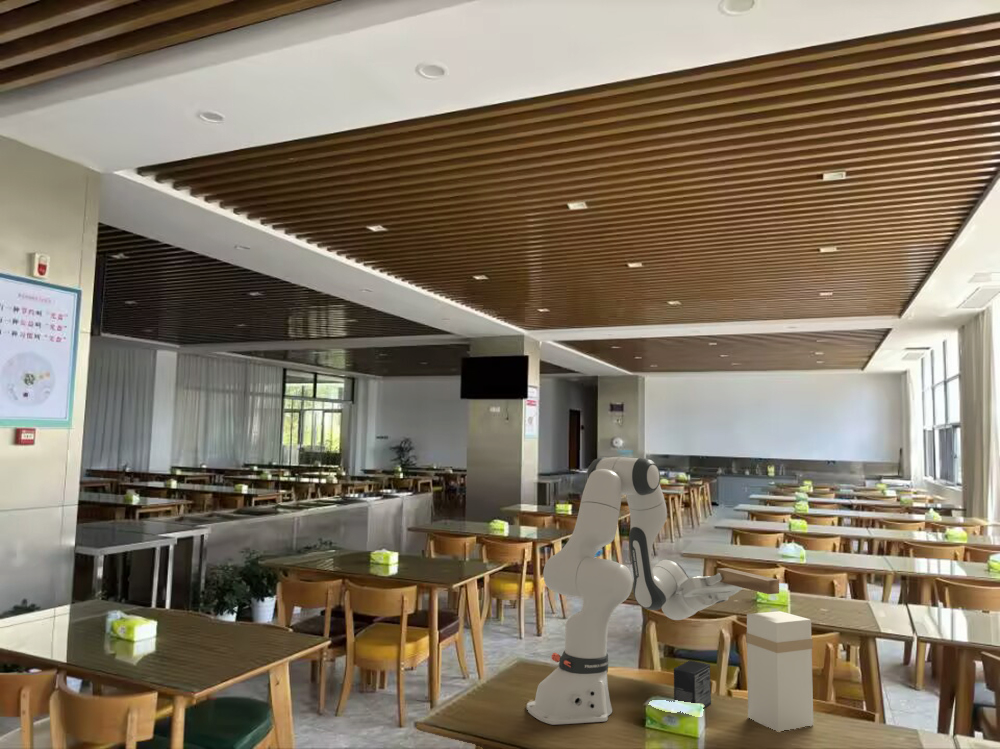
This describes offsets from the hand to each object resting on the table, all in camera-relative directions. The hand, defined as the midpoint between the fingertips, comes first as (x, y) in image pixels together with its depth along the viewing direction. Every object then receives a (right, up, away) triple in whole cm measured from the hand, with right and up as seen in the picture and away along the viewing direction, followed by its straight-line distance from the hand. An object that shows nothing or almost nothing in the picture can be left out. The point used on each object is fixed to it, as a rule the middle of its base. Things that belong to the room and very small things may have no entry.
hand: (729, 575), depth 196 cm
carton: (+6, -32, -20) cm, 38 cm away
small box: (-13, -32, -11) cm, 37 cm away
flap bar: (+3, -1, -6) cm, 7 cm away
